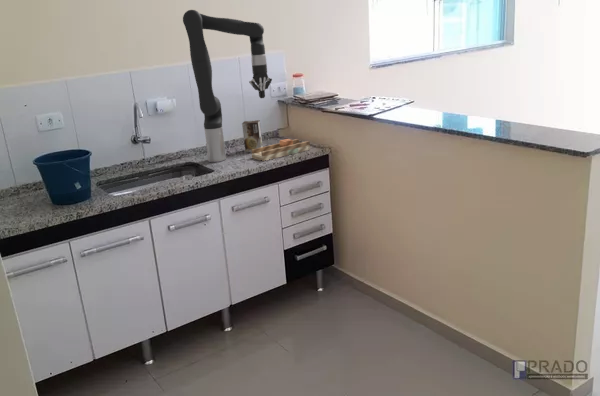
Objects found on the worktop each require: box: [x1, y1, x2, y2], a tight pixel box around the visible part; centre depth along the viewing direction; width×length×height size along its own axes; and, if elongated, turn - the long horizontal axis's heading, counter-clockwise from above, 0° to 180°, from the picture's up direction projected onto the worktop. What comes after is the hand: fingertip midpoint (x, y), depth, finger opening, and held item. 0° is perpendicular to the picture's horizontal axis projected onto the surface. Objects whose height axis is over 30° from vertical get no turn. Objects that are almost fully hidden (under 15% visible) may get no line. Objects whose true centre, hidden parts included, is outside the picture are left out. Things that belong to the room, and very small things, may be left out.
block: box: [279, 138, 294, 148], centre depth 292 cm, size 5×5×4 cm
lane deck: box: [251, 138, 311, 162], centre depth 291 cm, size 30×11×4 cm, turn 127°
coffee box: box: [241, 119, 264, 153], centre depth 302 cm, size 9×6×16 cm
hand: (262, 98), depth 285 cm, fingers closed
